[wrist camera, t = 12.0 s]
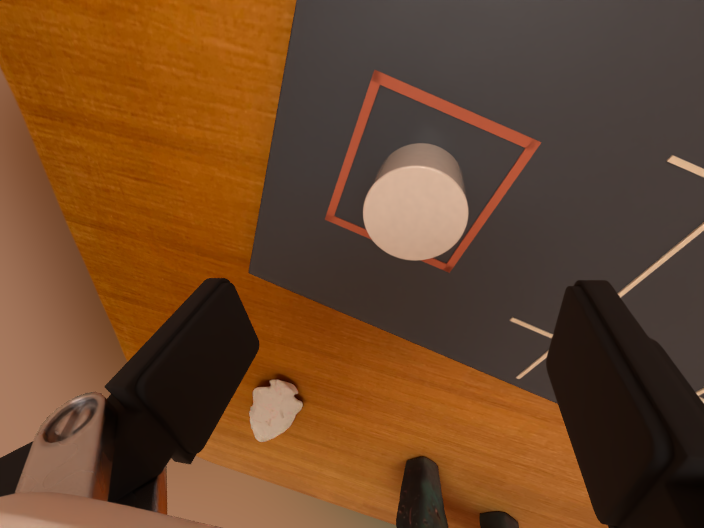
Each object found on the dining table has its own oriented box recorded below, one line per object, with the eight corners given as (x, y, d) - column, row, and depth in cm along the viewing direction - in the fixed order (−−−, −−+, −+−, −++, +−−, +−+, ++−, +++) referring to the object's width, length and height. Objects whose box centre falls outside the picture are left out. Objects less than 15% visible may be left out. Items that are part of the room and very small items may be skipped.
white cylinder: (370, 147, 18) (355, 170, 15) (465, 138, 16) (471, 161, 13) (379, 227, 20) (368, 261, 17) (461, 224, 19) (466, 261, 16)
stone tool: (264, 360, 34) (244, 426, 43) (255, 377, 33) (237, 442, 41) (313, 379, 35) (285, 441, 43) (308, 396, 33) (279, 457, 41)
